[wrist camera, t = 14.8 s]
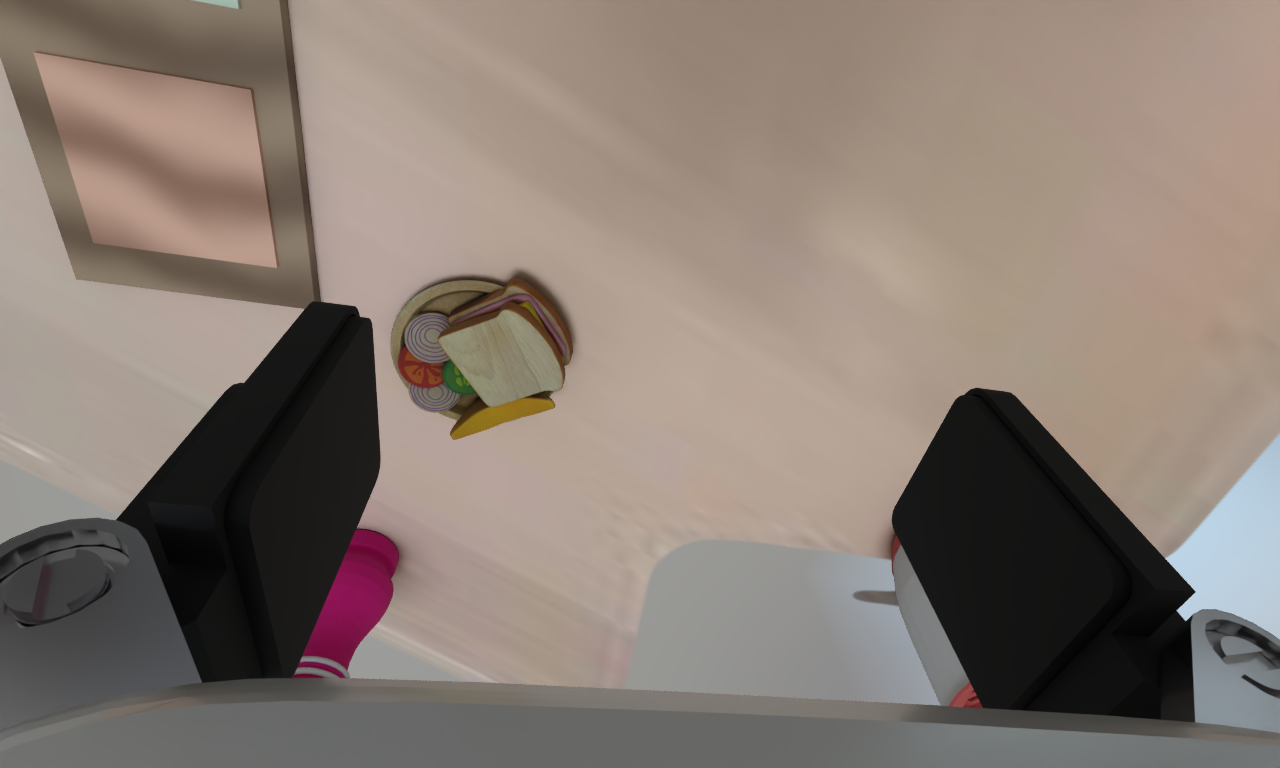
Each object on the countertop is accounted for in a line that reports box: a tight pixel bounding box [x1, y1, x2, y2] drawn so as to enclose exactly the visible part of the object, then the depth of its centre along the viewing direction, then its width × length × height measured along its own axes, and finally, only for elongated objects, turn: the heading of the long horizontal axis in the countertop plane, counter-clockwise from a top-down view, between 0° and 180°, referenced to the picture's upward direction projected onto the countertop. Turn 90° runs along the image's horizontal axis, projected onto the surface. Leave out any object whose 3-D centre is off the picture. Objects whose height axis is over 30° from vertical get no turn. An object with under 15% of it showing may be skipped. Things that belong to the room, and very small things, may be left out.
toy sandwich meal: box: [391, 278, 573, 440], centre depth 46 cm, size 12×14×5 cm
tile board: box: [0, 0, 320, 309], centre depth 35 cm, size 32×15×1 cm, turn 170°
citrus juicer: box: [892, 535, 983, 708], centre depth 54 cm, size 16×17×20 cm
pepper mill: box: [292, 529, 399, 678], centre depth 51 cm, size 7×7×20 cm
